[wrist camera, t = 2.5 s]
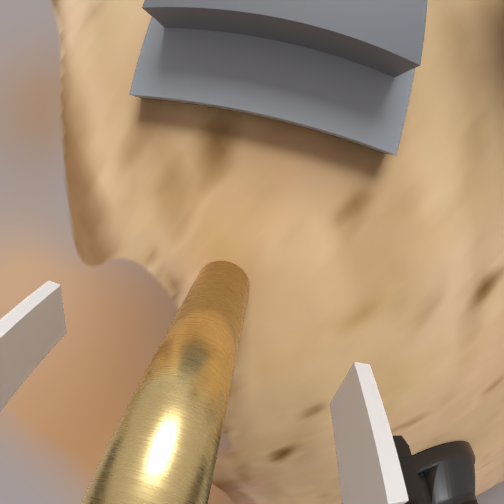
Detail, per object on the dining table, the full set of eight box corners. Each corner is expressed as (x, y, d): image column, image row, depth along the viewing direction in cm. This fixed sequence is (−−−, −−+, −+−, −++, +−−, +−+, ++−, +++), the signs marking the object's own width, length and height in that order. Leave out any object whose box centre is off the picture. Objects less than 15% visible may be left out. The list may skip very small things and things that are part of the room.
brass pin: (243, 313, 19) (191, 563, 5) (194, 300, 19) (89, 529, 5) (254, 268, 18) (202, 552, 4) (201, 255, 18) (60, 502, 4)
